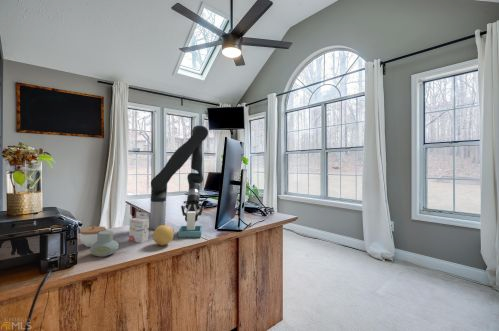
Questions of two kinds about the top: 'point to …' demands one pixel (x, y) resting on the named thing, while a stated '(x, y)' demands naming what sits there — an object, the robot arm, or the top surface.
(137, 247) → the top surface
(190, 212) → the stop block
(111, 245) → the air freshener
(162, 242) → the stress ball
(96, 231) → the lidded jar
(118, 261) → the top surface
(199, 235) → the tray
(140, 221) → the ink cartridge box
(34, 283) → the top surface
